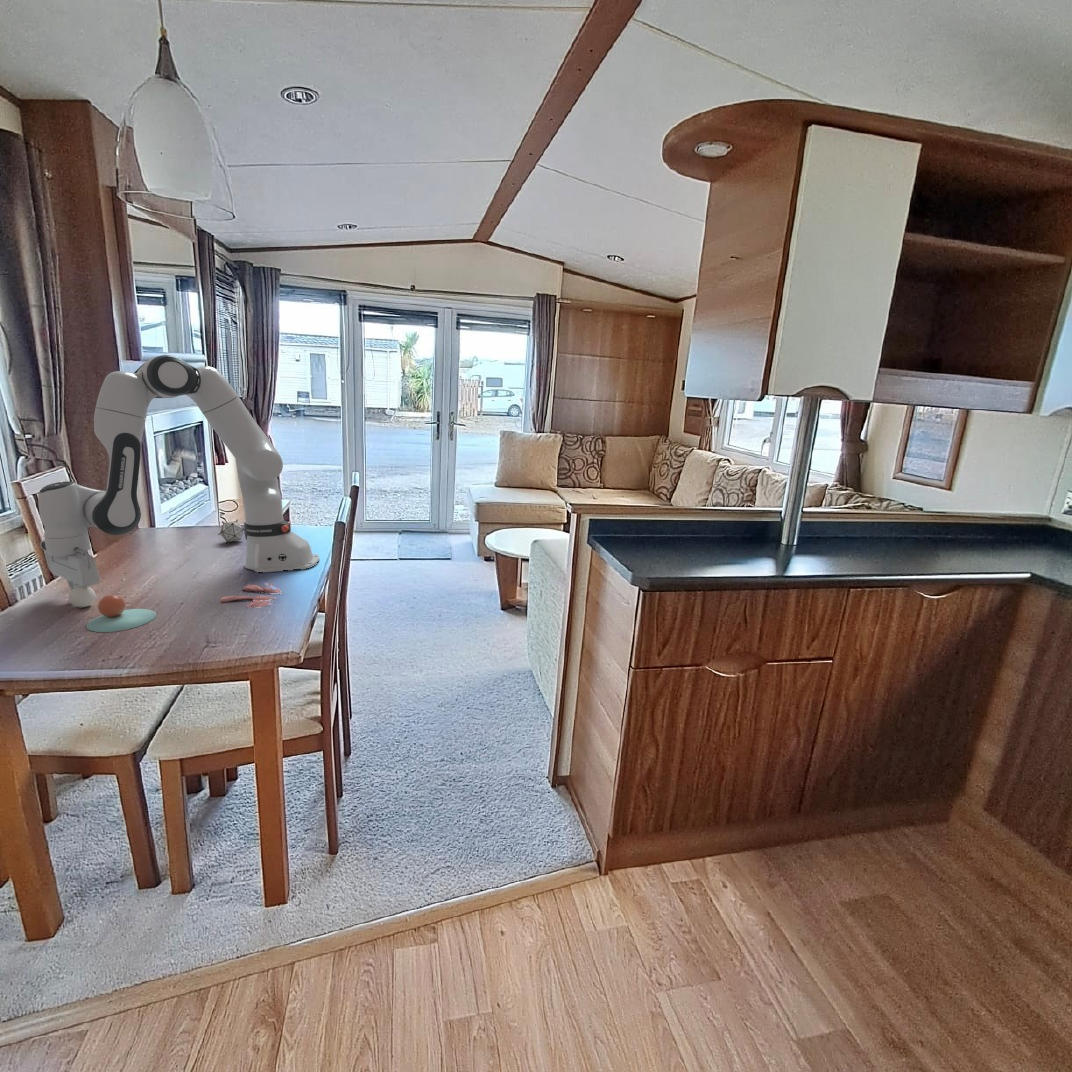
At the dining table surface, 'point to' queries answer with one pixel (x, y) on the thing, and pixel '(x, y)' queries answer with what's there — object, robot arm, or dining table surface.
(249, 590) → the pinkish brown flat pieces
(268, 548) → the robot arm
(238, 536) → the game die
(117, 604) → the brown egg
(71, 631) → the dining table surface
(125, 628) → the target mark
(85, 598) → the white egg
